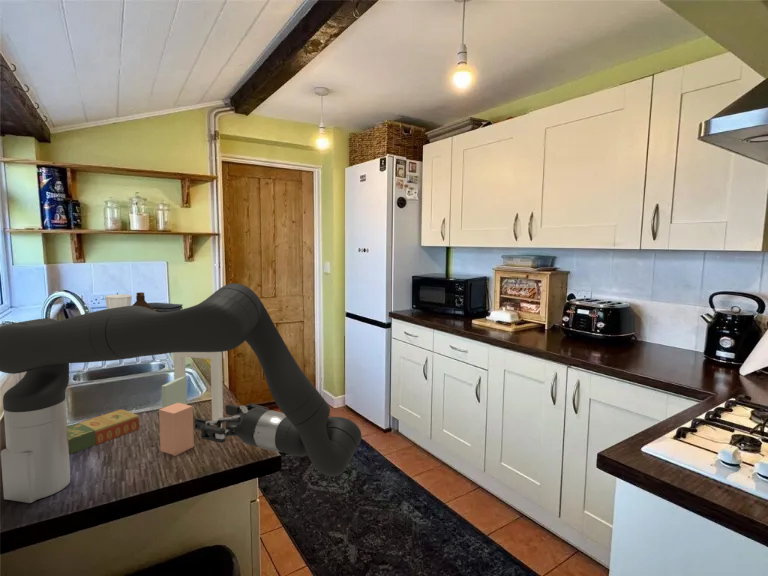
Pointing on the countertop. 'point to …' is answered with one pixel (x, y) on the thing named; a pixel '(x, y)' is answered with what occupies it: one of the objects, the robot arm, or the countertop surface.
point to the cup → (118, 300)
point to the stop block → (176, 428)
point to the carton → (101, 429)
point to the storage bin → (165, 307)
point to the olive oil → (141, 301)
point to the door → (174, 392)
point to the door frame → (215, 376)
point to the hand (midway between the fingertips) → (211, 415)
